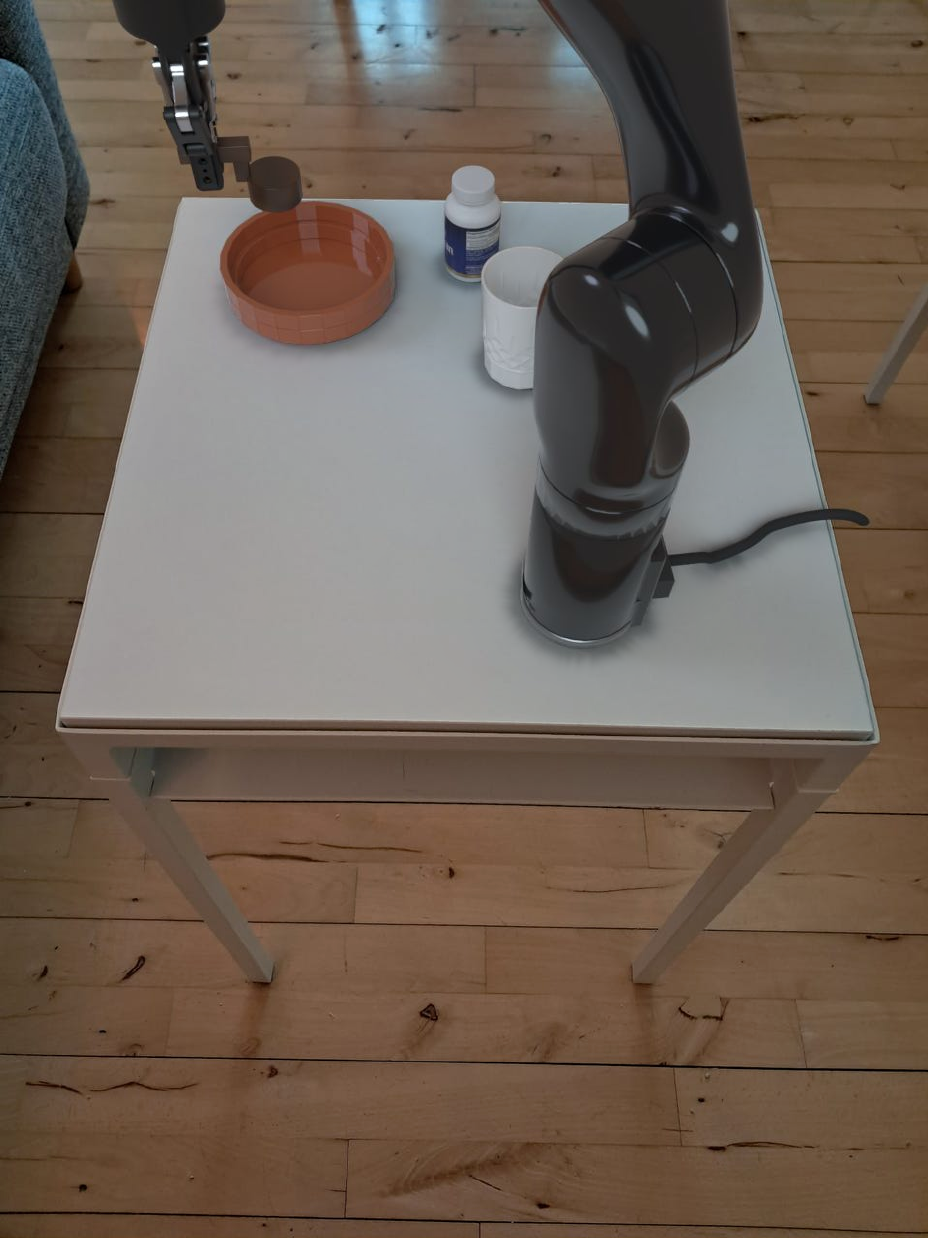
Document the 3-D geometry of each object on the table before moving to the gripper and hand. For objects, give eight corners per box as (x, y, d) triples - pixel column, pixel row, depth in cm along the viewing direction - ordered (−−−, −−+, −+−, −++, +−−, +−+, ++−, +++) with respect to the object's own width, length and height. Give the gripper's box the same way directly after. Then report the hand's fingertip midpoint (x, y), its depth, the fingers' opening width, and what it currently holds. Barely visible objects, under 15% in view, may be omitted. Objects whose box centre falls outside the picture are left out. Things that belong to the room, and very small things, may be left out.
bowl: (389, 230, 97) (387, 196, 94) (401, 342, 89) (400, 309, 86) (229, 240, 96) (221, 205, 93) (227, 354, 88) (218, 321, 84)
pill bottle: (437, 253, 96) (436, 165, 87) (488, 244, 96) (491, 155, 88) (453, 288, 93) (454, 200, 85) (505, 278, 94) (510, 190, 85)
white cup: (576, 381, 87) (590, 294, 78) (497, 404, 85) (503, 318, 77) (541, 325, 90) (551, 236, 82) (465, 346, 89) (467, 257, 80)
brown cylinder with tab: (301, 178, 80) (295, 122, 76) (303, 211, 78) (296, 155, 74) (190, 183, 79) (177, 126, 75) (189, 216, 77) (175, 160, 73)
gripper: (211, -6, 59) (258, 231, 74) (214, -110, 66) (256, 127, 81) (89, -1, 58) (161, 237, 73) (104, -106, 65) (168, 132, 80)
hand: (211, 179), depth 77 cm, fingers closed on brown cylinder with tab, 1 cm apart
